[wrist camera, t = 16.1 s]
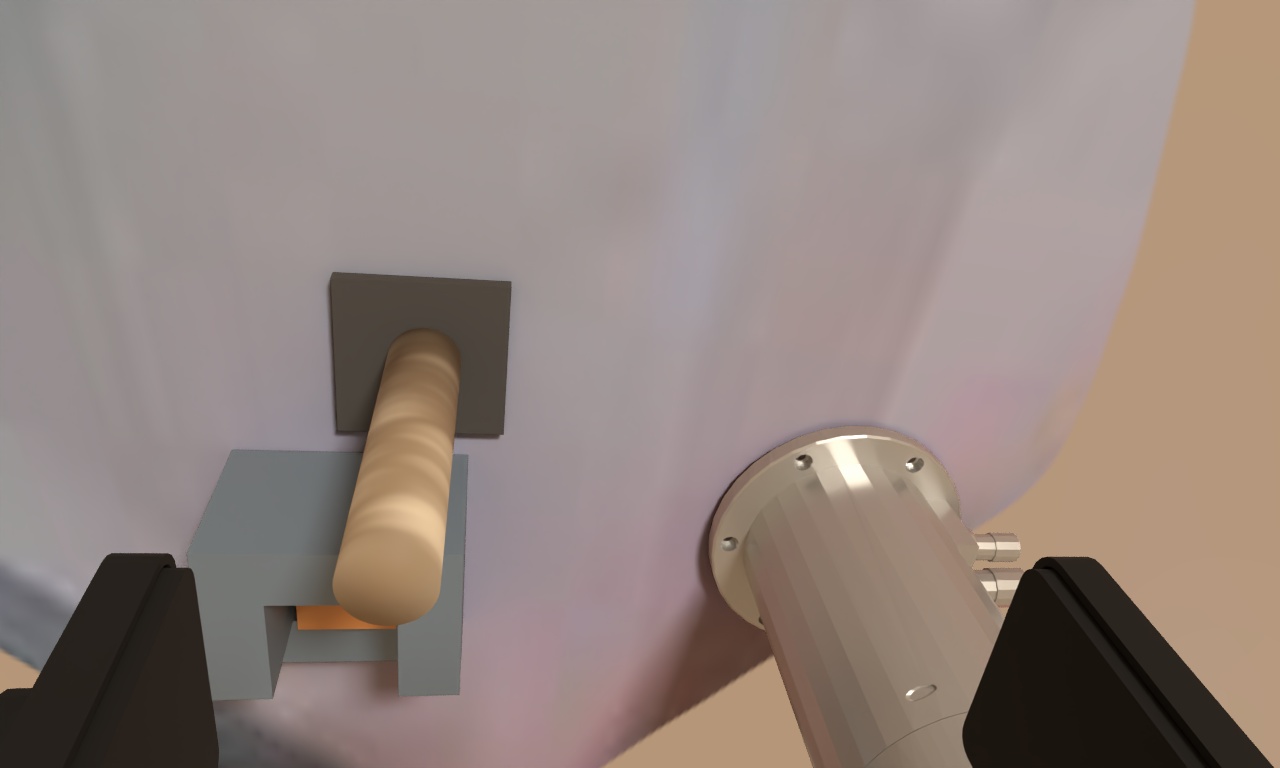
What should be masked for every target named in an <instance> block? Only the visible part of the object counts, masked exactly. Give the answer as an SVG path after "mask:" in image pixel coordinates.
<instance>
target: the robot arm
mask: <svg viewBox="0 0 1280 768" xmlns="http://www.w3.org/2000/svg"><path fill="white" fill-rule="evenodd" d="M1020 550H1021V549H1020V542H1019V540H1018V538H1017V536H1016V535H1015V534H1013V533H988V534H974V533H973V532H972V531H971V530H970V529H967V528H966V527H965V526H964V524H963V523H962V521H961V509H960V500H959V497H958V493H957V490H956V487H955V484H954V482H953V481H952V479H951V478H950V476H949V475H948V473H947V471H946V470H945V468H944V467H943V466H942V464H941V463H940V462H939V461H938V460H937V458H936V457H935V456H934V455H933V454H932V452H931V451H929V450H928V449H927V448H925V447H924V446H922V445H921V444H920V443H918V442H917V441H916V440H914V439H912V438H909V437H907V436H905V435H902V434H900V433H898V432H896V431H891V430H887V429H882V428H877V427H871V426H844V427H837V428H829V429H823V430H820V431H816V432H813V433H810V434H806V435H803V436H800V437H797V438H795V439H793V440H791V441H789V442H787V443H785V444H783V445H781V446H779V447H777V448H775V449H773V450H772V451H770V452H769V453H767V454H766V455H765V456H763V457H762V458H760V459H759V460H757V461H756V462H754V463H753V464H752V465H751V466H750V467H749V468H748V469H747V470H746V471H745V472H744V473H743V474H742V475H741V476H740V477H739V478H738V479H737V480H736V481H735V482H734V484H733V485H732V487H731V488H730V489H729V491H728V492H727V493H726V495H725V496H724V497H723V499H722V501H721V503H720V505H719V507H718V510H717V512H716V514H715V516H714V518H713V522H712V526H711V531H710V535H709V560H710V564H711V568H712V572H713V576H714V579H715V581H716V584H717V587H718V589H719V592H720V594H721V595H722V597H723V598H724V600H725V601H726V602H727V604H728V605H729V607H730V608H731V609H732V610H733V611H734V612H736V613H737V614H738V615H739V616H740V617H741V618H742V619H743V620H745V621H747V622H748V623H750V624H752V625H753V626H755V627H757V628H759V629H761V630H764V631H766V634H767V637H768V640H769V642H770V645H771V648H772V651H773V654H774V657H775V660H776V662H777V665H778V668H779V671H780V674H781V677H782V679H783V682H784V685H785V688H786V691H787V694H788V697H789V700H790V703H791V705H792V708H793V711H794V714H795V717H796V720H797V723H798V726H799V729H800V731H801V734H802V737H803V740H804V743H805V746H806V749H807V752H808V754H809V757H810V760H811V763H812V766H813V768H1274V767H1273V766H1272V765H1271V764H1270V763H1269V761H1268V760H1267V759H1266V758H1265V757H1264V755H1263V754H1262V753H1261V752H1260V751H1259V749H1258V748H1257V747H1256V746H1255V745H1254V744H1253V742H1252V741H1251V740H1250V739H1249V738H1248V737H1247V735H1246V734H1245V733H1244V732H1243V731H1242V730H1241V728H1240V727H1239V726H1238V725H1237V724H1236V722H1235V721H1234V720H1233V719H1232V718H1231V717H1230V715H1229V714H1228V713H1227V712H1226V711H1225V710H1224V708H1223V707H1222V706H1221V705H1220V704H1219V702H1218V701H1217V700H1216V699H1215V698H1214V697H1213V695H1212V694H1211V693H1210V692H1209V691H1208V690H1207V688H1206V687H1205V686H1204V685H1203V684H1202V683H1201V681H1200V680H1199V679H1198V678H1197V677H1196V676H1195V674H1194V673H1193V672H1192V671H1191V670H1190V668H1189V667H1188V666H1187V665H1186V664H1185V663H1184V661H1183V660H1182V659H1181V658H1180V657H1179V655H1178V654H1177V653H1176V652H1175V651H1174V650H1173V648H1172V647H1171V646H1170V645H1169V644H1168V643H1167V641H1166V640H1165V639H1164V638H1163V637H1162V636H1161V634H1160V633H1159V632H1158V631H1157V630H1156V628H1155V627H1154V626H1153V625H1152V624H1151V623H1150V621H1149V620H1148V619H1147V618H1146V617H1145V616H1144V614H1143V613H1142V612H1141V611H1140V610H1139V609H1138V607H1137V606H1136V605H1135V604H1134V603H1133V601H1131V599H1130V598H1129V597H1128V596H1127V594H1126V593H1125V592H1124V591H1123V590H1122V589H1121V588H1120V586H1119V585H1118V584H1117V583H1116V582H1115V581H1114V579H1113V578H1112V577H1111V576H1110V574H1109V573H1108V572H1107V571H1106V570H1105V569H1104V567H1103V566H1102V565H1101V564H1100V563H1098V562H1097V561H1096V560H1095V559H1092V558H1089V557H1044V558H1041V559H1040V560H1038V561H1037V562H1036V563H1035V565H1034V567H1033V568H1032V569H1029V570H1027V571H1025V572H1024V571H1023V570H1022V569H1021V568H984V569H983V570H973V569H972V566H973V564H974V562H975V560H988V561H989V562H991V561H992V562H1013V561H1017V559H1018V558H1019V555H1020ZM998 607H1009V609H1008V612H1007V614H1006V617H1004V615H1003V614H1002V612H1001V611H1000V609H999V608H998ZM218 759H219V747H218V739H217V732H216V724H215V717H214V710H213V703H212V696H211V689H210V682H209V675H208V668H207V661H206V654H205V647H204V640H203V633H202V626H201V619H200V612H199V605H198V597H197V590H196V583H195V577H194V573H193V571H192V569H191V568H176V564H175V560H174V558H173V557H172V555H170V554H158V553H111V554H109V555H107V556H106V557H105V559H104V560H103V561H102V563H101V564H100V566H99V568H98V570H97V572H96V574H95V575H94V577H93V579H92V581H91V583H90V584H89V586H88V588H87V590H86V592H85V593H84V595H83V597H82V599H81V601H80V602H79V604H78V606H77V608H76V610H75V612H74V613H73V615H72V617H71V619H70V621H69V622H68V624H67V626H66V628H65V630H64V631H63V633H62V635H61V637H60V639H59V641H58V642H57V644H56V646H55V648H54V650H53V651H52V653H51V655H50V657H49V659H48V660H47V662H46V664H45V666H44V668H43V669H42V671H41V673H40V675H39V677H38V679H37V680H36V682H35V684H34V686H33V688H16V689H7V690H5V691H4V692H3V693H1V694H0V768H218Z"/></svg>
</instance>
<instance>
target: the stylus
mask: <svg viewBox="0 0 1280 768" xmlns="http://www.w3.org/2000/svg"><path fill="white" fill-rule="evenodd" d="M460 372H461V354H460V351H459V349H458V347H457V345H456V344H455V342H454V341H453V340H452V339H451V338H450V337H448V336H447V335H445V334H444V333H442V332H440V331H437V330H435V329H430V328H415V329H411V330H408V331H406V332H404V333H402V334H401V335H399V336H398V337H397V338H396V339H395V340H394V341H393V342H392V344H391V346H390V348H389V351H388V355H387V359H386V363H385V367H384V371H383V375H382V379H381V384H380V388H379V392H378V396H377V400H376V404H375V408H374V412H373V416H372V421H371V425H370V429H369V433H368V437H367V441H366V445H365V449H364V454H363V458H362V462H361V466H360V470H359V474H358V478H357V482H356V486H355V491H354V495H353V499H352V503H351V507H350V511H349V515H348V519H347V523H346V528H345V532H344V536H343V540H342V544H341V548H340V552H339V556H338V560H337V565H336V569H335V573H334V577H333V592H334V595H335V598H336V600H337V602H338V603H339V604H340V606H341V607H342V608H343V609H344V610H345V611H346V612H347V613H348V614H350V615H351V616H353V617H354V618H356V619H358V620H360V621H363V622H366V623H369V624H373V625H380V626H395V625H402V624H406V623H409V622H412V621H414V620H417V619H419V618H420V617H422V616H423V615H425V614H426V613H427V612H429V611H430V609H431V608H432V607H433V606H434V605H435V603H436V601H437V599H438V597H439V594H440V587H441V576H442V565H443V555H444V544H445V533H446V522H447V512H448V501H449V490H450V479H451V469H452V458H453V447H454V436H455V426H456V415H457V404H458V393H459V383H460Z"/></svg>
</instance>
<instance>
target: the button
mask: <svg viewBox="0 0 1280 768" xmlns="http://www.w3.org/2000/svg"><path fill="white" fill-rule="evenodd" d="M296 610H297V623H298V630H310V629H396V626H397V625H395V626H380V625H373V624H369V623H366V622H363V621H360V620H358V619H356V618H354V617H353V616H351V615H350V614H348V613H347V612H346V611H345V610H344V609H343V608H342V607H341V606H340V605H318V606H296Z"/></svg>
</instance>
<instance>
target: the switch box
mask: <svg viewBox="0 0 1280 768" xmlns="http://www.w3.org/2000/svg"><path fill="white" fill-rule="evenodd" d="M363 454H364V453H354V452H308V451H261V450H232V452H231V454H230V456H229V458H228V461H227V463H226V465H225V468H224V470H223V472H222V474H221V477H220V479H219V481H218V483H217V486H216V488H215V490H214V493H213V495H212V497H211V499H210V502H209V504H208V506H207V509H206V511H205V513H204V515H203V518H202V520H201V522H200V525H199V527H198V529H197V531H196V534H195V536H194V538H193V541H192V543H191V545H190V547H189V550H188V552H187V561H188V568H191V569H192V571H193V573H194V577H195V583H196V590H197V597H198V605H199V612H200V619H201V626H202V633H203V640H204V647H205V654H206V661H207V668H208V675H209V682H210V689H211V696H212V700H248V699H273V696H274V692H275V688H276V684H277V681H278V677H279V673H280V669H281V665H282V663H283V662H350V661H398V696H435V695H459V692H460V667H461V652H462V627H463V598H464V567H465V536H466V505H467V474H468V455H453V458H452V469H451V479H450V490H449V501H448V512H447V522H446V533H445V544H444V555H443V565H442V576H441V587H440V594H439V597H438V599H437V601H436V603H435V605H434V606H433V607H432V608H431V609H430V611H429V612H427V613H426V614H425V615H423V616H422V617H420V618H419V619H417V620H414V621H412V622H409V623H406V624H402V625H397V626H396V629H310V630H298V623H297V610H296V606H318V605H340V604H339V603H338V602H337V600H336V598H335V595H334V592H333V577H334V573H335V569H336V565H337V560H338V556H339V552H340V548H341V544H342V540H343V536H344V532H345V528H346V523H347V519H348V515H349V511H350V507H351V503H352V499H353V495H354V491H355V486H356V482H357V478H358V474H359V470H360V466H361V462H362V458H363Z"/></svg>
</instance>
